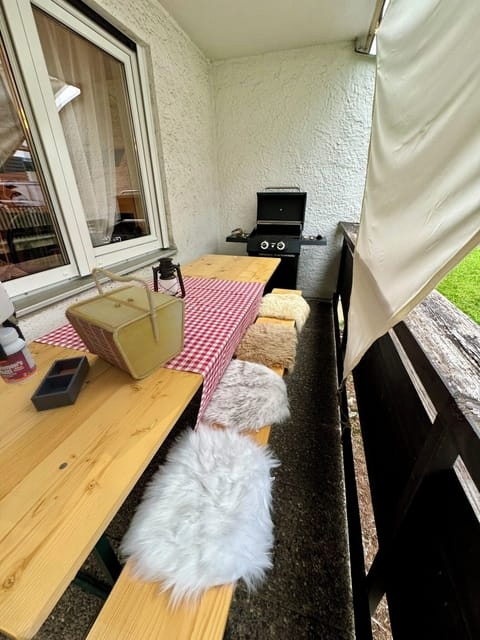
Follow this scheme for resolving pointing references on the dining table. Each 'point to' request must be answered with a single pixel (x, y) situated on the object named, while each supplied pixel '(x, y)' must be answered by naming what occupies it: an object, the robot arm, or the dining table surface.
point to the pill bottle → (16, 358)
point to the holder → (61, 383)
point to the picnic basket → (130, 325)
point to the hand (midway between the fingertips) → (8, 350)
